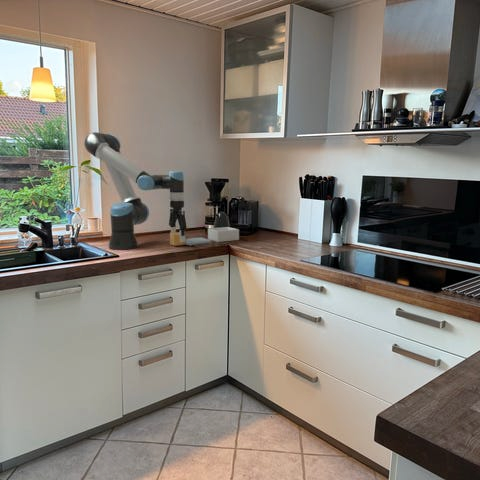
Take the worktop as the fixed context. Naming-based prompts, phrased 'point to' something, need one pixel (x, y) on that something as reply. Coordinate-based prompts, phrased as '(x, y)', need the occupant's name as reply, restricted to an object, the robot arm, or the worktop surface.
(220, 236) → the tub
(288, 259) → the worktop surface
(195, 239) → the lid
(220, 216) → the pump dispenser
